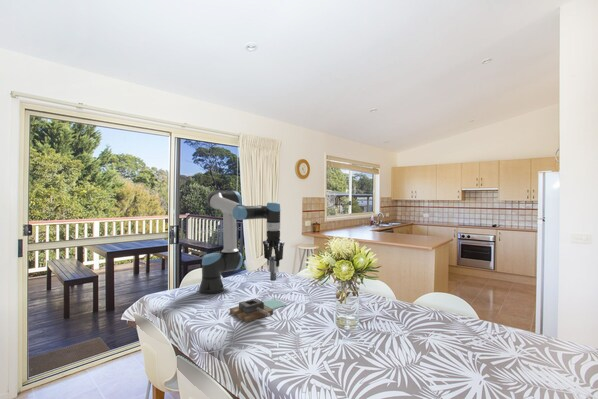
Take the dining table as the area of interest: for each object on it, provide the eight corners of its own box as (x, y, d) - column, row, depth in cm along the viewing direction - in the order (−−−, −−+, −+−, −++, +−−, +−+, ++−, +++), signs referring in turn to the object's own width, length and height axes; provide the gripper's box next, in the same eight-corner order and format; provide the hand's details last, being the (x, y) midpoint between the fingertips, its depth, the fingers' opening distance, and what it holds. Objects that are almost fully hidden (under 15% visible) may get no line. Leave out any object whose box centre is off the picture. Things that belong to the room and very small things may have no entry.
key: (273, 278, 170) (273, 255, 170) (278, 279, 168) (278, 255, 168) (267, 280, 164) (267, 257, 164) (272, 281, 163) (272, 257, 163)
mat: (259, 303, 168) (259, 302, 168) (274, 299, 174) (274, 298, 174) (272, 309, 159) (272, 308, 159) (286, 305, 165) (286, 304, 165)
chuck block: (230, 312, 155) (230, 301, 155) (256, 305, 165) (256, 295, 165) (254, 327, 136) (254, 316, 136) (282, 318, 147) (282, 307, 147)
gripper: (257, 229, 167) (257, 271, 167) (282, 231, 159) (282, 275, 159) (265, 228, 173) (265, 268, 174) (289, 230, 165) (289, 272, 165)
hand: (273, 271), depth 166 cm, fingers closed on key, 3 cm apart
